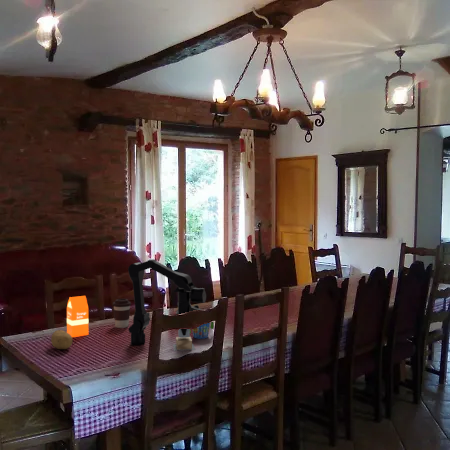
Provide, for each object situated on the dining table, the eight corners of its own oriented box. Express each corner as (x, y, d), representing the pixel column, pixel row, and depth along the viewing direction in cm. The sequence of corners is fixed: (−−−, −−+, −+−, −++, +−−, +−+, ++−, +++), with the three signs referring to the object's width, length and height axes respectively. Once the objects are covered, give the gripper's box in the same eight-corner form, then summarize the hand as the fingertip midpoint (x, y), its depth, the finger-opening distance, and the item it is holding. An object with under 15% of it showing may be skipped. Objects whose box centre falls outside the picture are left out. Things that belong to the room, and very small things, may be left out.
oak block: (177, 349, 237) (177, 341, 237) (176, 345, 244) (176, 337, 244) (191, 348, 239) (191, 340, 238) (190, 344, 245) (190, 336, 245)
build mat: (174, 351, 236) (174, 350, 236) (172, 345, 246) (172, 344, 246) (195, 350, 237) (195, 349, 237) (193, 344, 247) (193, 343, 247)
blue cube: (179, 337, 238) (179, 327, 238) (178, 334, 243) (178, 324, 243) (189, 337, 239) (189, 326, 239) (188, 334, 244) (188, 324, 244)
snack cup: (208, 333, 269) (208, 314, 268) (219, 337, 260) (219, 318, 259) (182, 337, 260) (182, 317, 259) (192, 342, 251) (192, 321, 251)
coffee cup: (111, 325, 283) (110, 298, 283) (128, 323, 288) (128, 297, 287) (114, 329, 274) (114, 302, 274) (132, 327, 279) (132, 300, 278)
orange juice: (66, 334, 264) (66, 296, 263) (83, 331, 269) (82, 294, 268) (72, 337, 258) (72, 298, 257) (88, 334, 263) (88, 296, 262)
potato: (55, 354, 230) (55, 336, 229) (47, 346, 241) (47, 330, 241) (77, 350, 235) (77, 333, 235) (68, 343, 247) (67, 327, 247)
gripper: (203, 305, 233) (202, 338, 233) (198, 297, 251) (198, 328, 252) (178, 305, 231) (178, 339, 232) (176, 297, 249) (176, 329, 250)
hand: (183, 333), depth 241 cm, fingers closed on blue cube, 5 cm apart
